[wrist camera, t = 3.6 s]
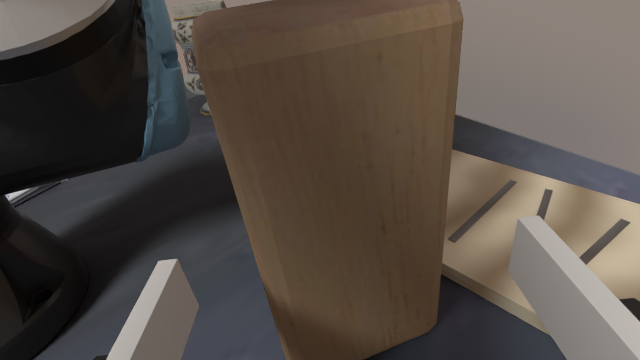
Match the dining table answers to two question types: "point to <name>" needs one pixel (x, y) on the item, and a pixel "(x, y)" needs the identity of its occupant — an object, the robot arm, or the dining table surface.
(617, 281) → the board
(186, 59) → the apothecary jar
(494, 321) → the dining table surface
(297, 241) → the wooden block
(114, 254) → the dining table surface
